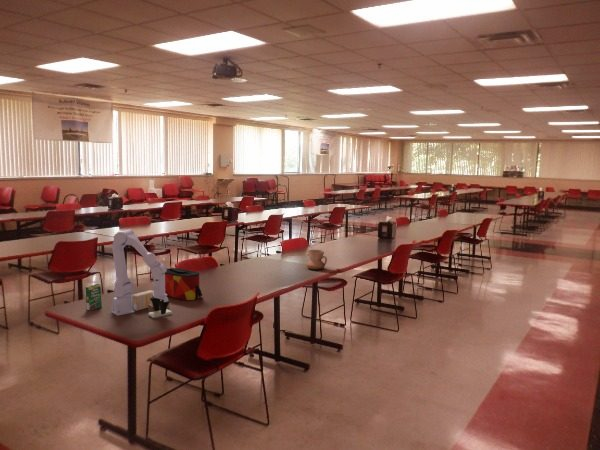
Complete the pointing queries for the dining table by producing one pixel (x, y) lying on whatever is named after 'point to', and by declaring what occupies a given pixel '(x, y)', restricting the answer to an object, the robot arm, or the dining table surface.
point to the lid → (159, 313)
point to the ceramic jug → (316, 259)
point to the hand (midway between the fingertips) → (159, 312)
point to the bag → (182, 284)
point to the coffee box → (93, 297)
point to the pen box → (151, 308)
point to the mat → (161, 316)
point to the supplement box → (141, 300)
